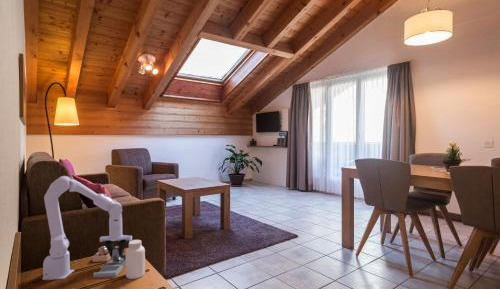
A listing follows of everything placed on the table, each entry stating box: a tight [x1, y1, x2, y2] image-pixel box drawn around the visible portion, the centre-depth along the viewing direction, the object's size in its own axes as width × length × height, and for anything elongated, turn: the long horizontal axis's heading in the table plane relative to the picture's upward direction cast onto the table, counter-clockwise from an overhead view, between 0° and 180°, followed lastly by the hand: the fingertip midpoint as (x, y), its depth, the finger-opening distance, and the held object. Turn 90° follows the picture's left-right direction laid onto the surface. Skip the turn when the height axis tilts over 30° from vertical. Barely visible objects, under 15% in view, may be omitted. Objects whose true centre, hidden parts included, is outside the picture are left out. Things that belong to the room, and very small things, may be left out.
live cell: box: [112, 245, 121, 261], centre depth 137 cm, size 4×4×6 cm
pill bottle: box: [125, 239, 146, 280], centre depth 126 cm, size 8×8×15 cm
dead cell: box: [97, 245, 108, 256], centre depth 143 cm, size 4×4×6 cm
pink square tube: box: [92, 250, 111, 263], centre depth 143 cm, size 7×7×3 cm
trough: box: [92, 265, 124, 279], centre depth 128 cm, size 10×8×2 cm
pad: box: [109, 258, 124, 265], centre depth 137 cm, size 5×5×1 cm
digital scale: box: [103, 253, 126, 267], centre depth 137 cm, size 10×8×3 cm
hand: (116, 255), depth 137 cm, fingers closed on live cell, 4 cm apart
